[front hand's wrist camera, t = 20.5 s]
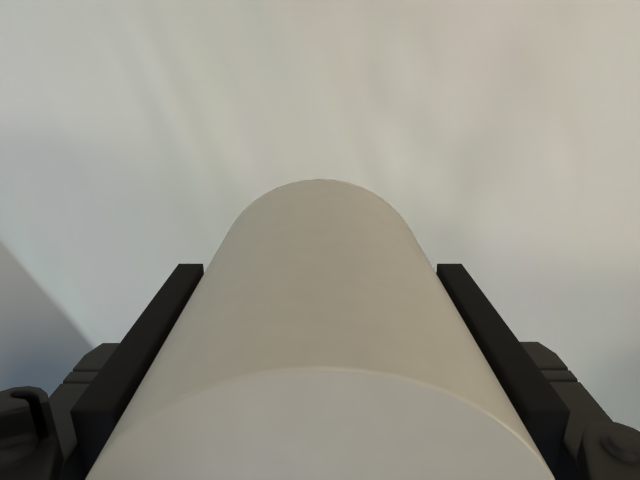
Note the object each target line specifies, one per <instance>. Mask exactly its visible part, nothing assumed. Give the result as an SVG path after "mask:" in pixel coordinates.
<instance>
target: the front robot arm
mask: <svg viewBox="0 0 640 480" xmlns="http://www.w3.org/2000/svg"><path fill="white" fill-rule="evenodd" d="M436 274H437V276H438V278H439V279H440V281H441V283H442V285H443V286H444V288H445V290H446V292H447V293H448V295H449V297H450V298H451V300H452V302H453V304H454V305H455V307H456V309H457V311H458V312H459V314H460V316H461V317H462V319H463V321H464V323H465V324H466V326H467V328H468V329H469V331H470V333H471V335H472V336H473V338H474V340H475V342H476V343H477V345H478V347H479V348H480V350H481V352H482V354H483V355H484V357H485V359H486V361H487V362H488V364H489V366H490V367H491V369H492V371H493V373H494V374H495V376H496V378H497V379H498V381H499V383H500V385H501V386H502V388H503V390H504V392H505V393H506V395H507V397H508V398H509V400H510V402H511V404H512V405H513V407H514V409H515V411H516V412H517V414H518V416H519V417H520V419H521V421H522V423H523V424H524V426H525V428H526V430H527V431H528V433H529V435H530V436H531V438H532V440H533V442H534V443H535V445H536V447H537V448H538V450H539V452H540V454H541V455H542V457H543V459H544V461H545V462H546V464H547V466H548V467H549V469H550V471H551V473H552V474H553V476H554V478H555V480H640V432H639V431H637V430H636V429H634V428H631V427H628V426H626V425H623V424H620V423H617V422H613V421H612V420H611V419H610V417H609V416H608V415H607V414H606V413H605V412H604V410H603V409H602V408H601V407H600V406H599V404H598V403H597V402H596V401H595V400H594V398H593V397H592V396H591V395H590V394H589V393H588V391H587V390H586V389H585V388H584V387H583V385H582V384H581V383H580V382H578V381H577V378H576V377H575V376H574V375H573V373H572V372H571V371H568V368H567V366H566V365H565V364H564V363H563V362H562V360H561V359H560V358H559V357H558V356H557V354H555V353H554V352H552V351H551V350H549V349H548V348H546V347H545V346H543V345H542V344H540V343H539V342H519V341H518V340H517V338H516V337H515V336H514V334H513V333H512V331H511V330H510V329H509V327H508V326H507V325H506V323H505V322H504V321H503V319H502V318H501V317H500V315H499V314H498V313H497V311H496V310H495V309H494V307H493V306H492V304H491V303H490V302H489V300H488V299H487V298H486V296H485V295H484V294H483V292H482V291H481V290H480V288H479V287H478V286H477V284H476V283H475V282H474V280H473V279H472V278H471V276H470V275H469V273H468V272H467V271H466V269H465V268H464V267H463V265H462V264H437V273H436ZM203 275H204V270H203V264H178V266H177V267H176V268H175V270H174V271H173V273H172V274H171V275H170V277H169V278H168V279H167V281H166V282H165V283H164V285H163V286H162V287H161V289H160V290H159V291H158V293H157V294H156V295H155V297H154V298H153V300H152V301H151V302H150V304H149V305H148V306H147V308H146V309H145V310H144V312H143V313H142V314H141V316H140V317H139V318H138V320H137V321H136V322H135V324H134V325H133V326H132V328H131V329H130V331H129V332H128V333H127V335H126V336H125V337H124V339H123V340H122V341H121V343H102V344H101V345H99V346H98V347H96V348H95V349H93V350H92V351H90V352H89V353H87V354H86V355H84V357H83V358H82V359H81V360H80V361H79V363H78V364H77V365H76V366H75V367H74V369H73V372H70V373H69V375H68V376H67V377H66V378H65V379H64V381H63V384H60V385H59V387H58V388H57V389H56V390H55V391H54V393H53V394H52V395H51V396H50V397H49V399H48V395H47V393H46V392H45V391H43V390H42V389H41V388H37V387H31V386H25V387H15V388H11V389H7V390H4V391H1V392H0V480H85V479H86V477H87V475H88V474H89V472H90V470H91V468H92V467H93V465H94V463H95V461H96V460H97V458H98V456H99V455H100V453H101V451H102V449H103V448H104V446H105V444H106V442H107V441H108V439H109V437H110V436H111V434H112V432H113V430H114V429H115V427H116V425H117V423H118V422H119V420H120V418H121V417H122V415H123V413H124V411H125V410H126V408H127V406H128V404H129V403H130V401H131V399H132V398H133V396H134V394H135V392H136V391H137V389H138V387H139V385H140V384H141V382H142V380H143V379H144V377H145V375H146V373H147V372H148V370H149V368H150V366H151V365H152V363H153V361H154V360H155V358H156V356H157V354H158V353H159V351H160V349H161V347H162V346H163V344H164V342H165V341H166V339H167V337H168V335H169V334H170V332H171V330H172V328H173V327H174V325H175V323H176V322H177V320H178V318H179V316H180V315H181V313H182V311H183V309H184V308H185V306H186V304H187V303H188V301H189V299H190V297H191V296H192V294H193V292H194V290H195V289H196V287H197V285H198V284H199V282H200V280H201V278H202V277H203Z"/></svg>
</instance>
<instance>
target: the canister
mask: <svg viewBox="0 0 640 480" xmlns="http://www.w3.org/2000/svg"><path fill="white" fill-rule="evenodd" d="M85 480H555V478H554V476H553V474H552V473H551V471H550V469H549V467H548V466H547V464H546V462H545V461H544V459H543V457H542V455H541V454H540V452H539V450H538V448H537V447H536V445H535V443H534V442H533V440H532V438H531V436H530V435H529V433H528V431H527V430H526V428H525V426H524V424H523V423H522V421H521V419H520V417H519V416H518V414H517V412H516V411H515V409H514V407H513V405H512V404H511V402H510V400H509V398H508V397H507V395H506V393H505V392H504V390H503V388H502V386H501V385H500V383H499V381H498V379H497V378H496V376H495V374H494V373H493V371H492V369H491V367H490V366H489V364H488V362H487V361H486V359H485V357H484V355H483V354H482V352H481V350H480V348H479V347H478V345H477V343H476V342H475V340H474V338H473V336H472V335H471V333H470V331H469V329H468V328H467V326H466V324H465V323H464V321H463V319H462V317H461V316H460V314H459V312H458V311H457V309H456V307H455V305H454V304H453V302H452V300H451V298H450V297H449V295H448V293H447V292H446V290H445V288H444V286H443V285H442V283H441V281H440V279H439V278H438V276H437V274H436V273H435V271H434V269H433V267H432V266H431V264H430V262H429V261H428V259H427V257H426V255H425V254H424V252H423V250H422V248H421V247H420V245H419V243H418V242H417V240H416V238H415V236H414V235H413V233H412V231H411V230H410V228H409V226H408V225H407V223H406V222H405V220H404V219H403V218H402V217H401V215H400V214H399V213H398V212H397V211H396V210H395V209H394V208H393V207H392V206H391V205H390V204H388V203H387V202H386V201H385V200H383V199H382V198H380V197H379V196H377V195H376V194H374V193H372V192H370V191H368V190H366V189H364V188H362V187H359V186H356V185H353V184H350V183H347V182H341V181H336V180H324V179H315V180H304V181H299V182H294V183H290V184H287V185H284V186H281V187H278V188H276V189H274V190H272V191H270V192H268V193H266V194H264V195H263V196H261V197H260V198H258V199H257V200H255V201H254V202H253V203H252V204H251V205H250V206H248V207H247V208H246V209H245V210H244V211H243V212H242V213H241V215H240V216H239V217H238V218H237V219H236V221H235V222H234V224H233V225H232V227H231V229H230V230H229V232H228V234H227V235H226V237H225V239H224V240H223V242H222V244H221V246H220V247H219V249H218V251H217V253H216V254H215V256H214V258H213V259H212V261H211V263H210V265H209V266H208V268H207V270H206V272H205V273H204V275H203V277H202V278H201V280H200V282H199V284H198V285H197V287H196V289H195V290H194V292H193V294H192V296H191V297H190V299H189V301H188V303H187V304H186V306H185V308H184V309H183V311H182V313H181V315H180V316H179V318H178V320H177V322H176V323H175V325H174V327H173V328H172V330H171V332H170V334H169V335H168V337H167V339H166V341H165V342H164V344H163V346H162V347H161V349H160V351H159V353H158V354H157V356H156V358H155V360H154V361H153V363H152V365H151V366H150V368H149V370H148V372H147V373H146V375H145V377H144V379H143V380H142V382H141V384H140V385H139V387H138V389H137V391H136V392H135V394H134V396H133V398H132V399H131V401H130V403H129V404H128V406H127V408H126V410H125V411H124V413H123V415H122V417H121V418H120V420H119V422H118V423H117V425H116V427H115V429H114V430H113V432H112V434H111V436H110V437H109V439H108V441H107V442H106V444H105V446H104V448H103V449H102V451H101V453H100V455H99V456H98V458H97V460H96V461H95V463H94V465H93V467H92V468H91V470H90V472H89V474H88V475H87V477H86V479H85Z"/></svg>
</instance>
